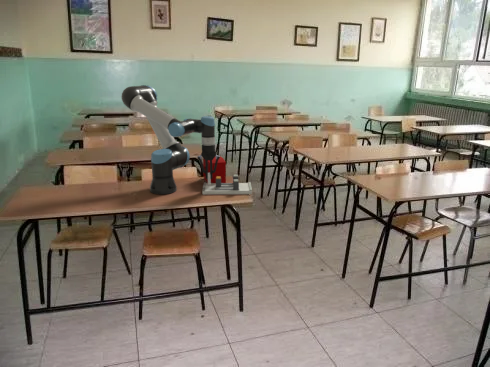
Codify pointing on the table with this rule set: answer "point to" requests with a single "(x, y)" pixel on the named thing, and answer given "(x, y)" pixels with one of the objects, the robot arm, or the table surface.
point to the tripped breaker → (218, 181)
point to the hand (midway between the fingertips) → (209, 184)
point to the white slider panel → (228, 187)
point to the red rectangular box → (219, 170)
